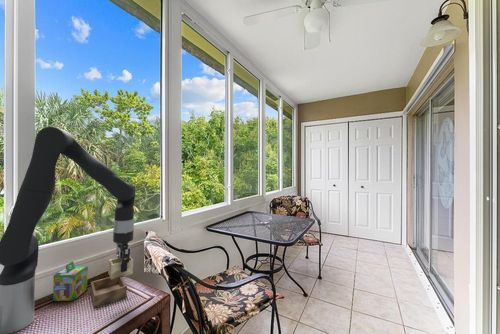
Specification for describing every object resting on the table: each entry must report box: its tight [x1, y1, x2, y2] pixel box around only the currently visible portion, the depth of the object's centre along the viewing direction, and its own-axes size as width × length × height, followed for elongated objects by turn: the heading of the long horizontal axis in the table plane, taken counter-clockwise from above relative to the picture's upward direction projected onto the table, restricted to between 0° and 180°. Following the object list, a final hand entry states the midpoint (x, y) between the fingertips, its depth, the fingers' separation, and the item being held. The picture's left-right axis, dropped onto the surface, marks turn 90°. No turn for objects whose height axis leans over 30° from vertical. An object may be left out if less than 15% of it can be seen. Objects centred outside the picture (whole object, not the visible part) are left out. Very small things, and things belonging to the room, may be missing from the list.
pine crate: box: [107, 255, 134, 280], centre depth 93 cm, size 8×6×6 cm
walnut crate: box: [90, 276, 128, 309], centre depth 101 cm, size 12×14×5 cm
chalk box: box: [52, 260, 89, 302], centre depth 99 cm, size 9×9×15 cm
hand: (122, 268), depth 93 cm, fingers closed on pine crate, 6 cm apart
